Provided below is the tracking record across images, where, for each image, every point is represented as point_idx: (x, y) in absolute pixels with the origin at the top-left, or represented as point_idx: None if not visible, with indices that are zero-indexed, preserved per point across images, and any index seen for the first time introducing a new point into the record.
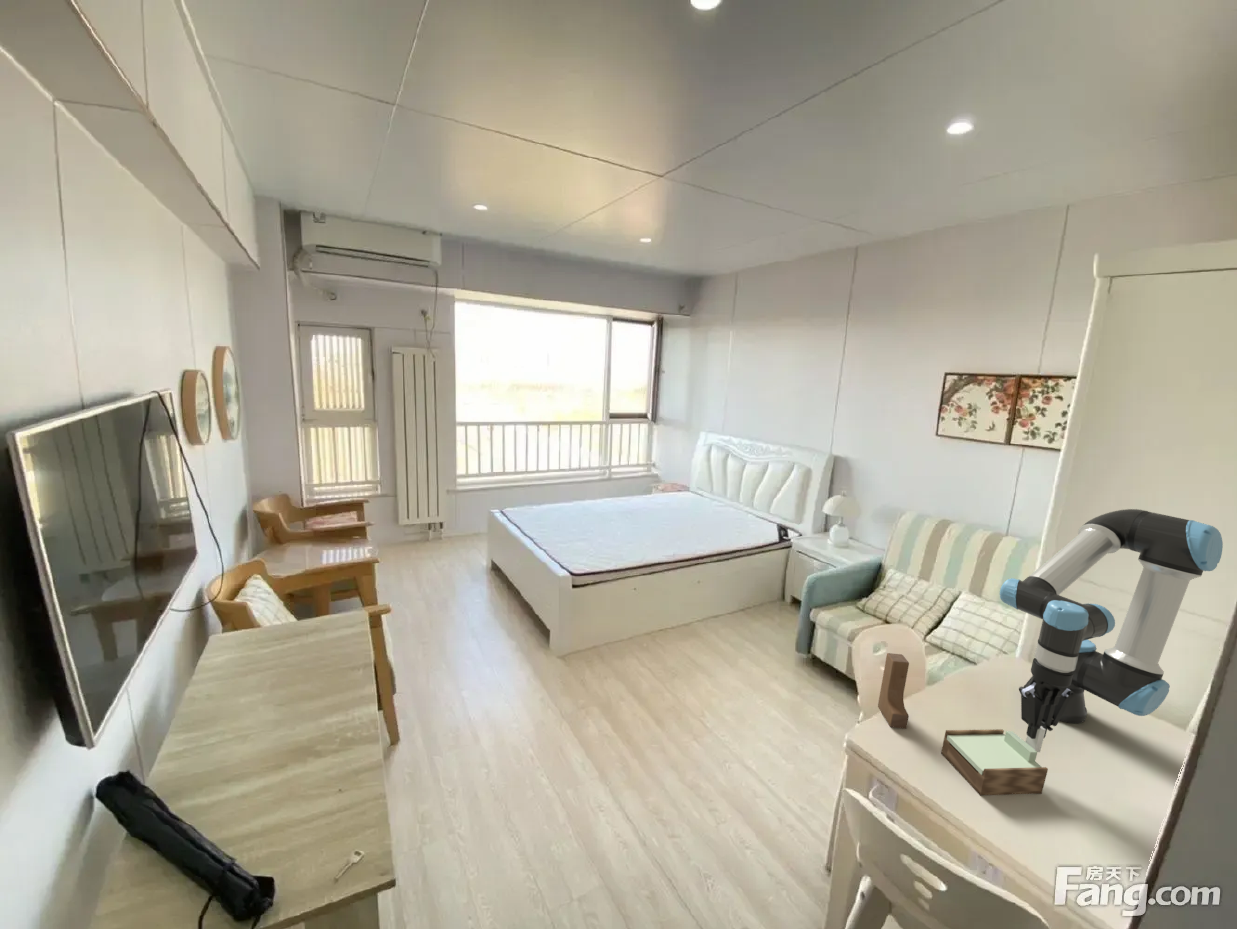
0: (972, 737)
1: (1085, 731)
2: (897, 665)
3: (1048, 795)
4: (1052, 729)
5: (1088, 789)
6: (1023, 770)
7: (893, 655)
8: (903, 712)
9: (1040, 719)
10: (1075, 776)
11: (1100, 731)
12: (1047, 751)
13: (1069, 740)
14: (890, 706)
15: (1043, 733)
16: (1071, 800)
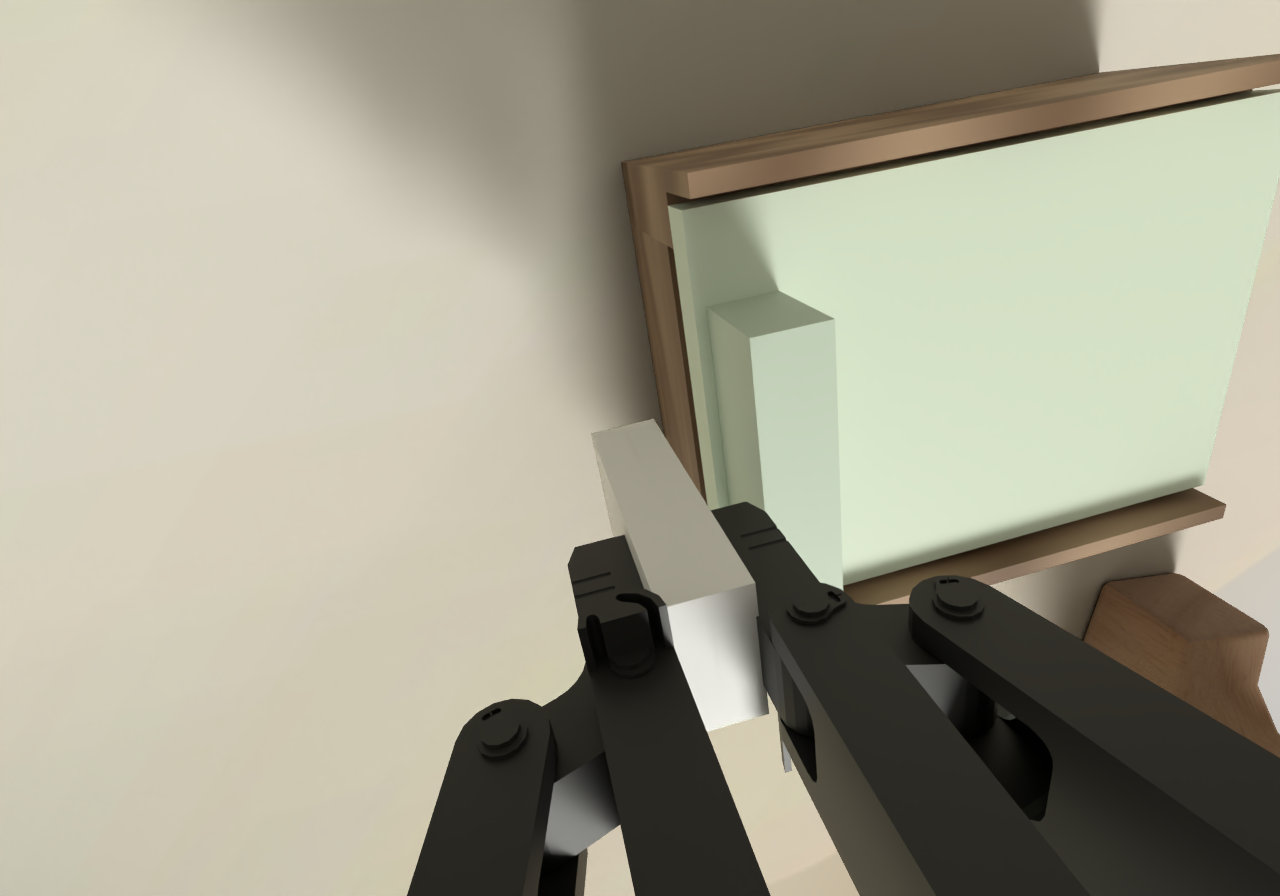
0: (1035, 507)
1: None
2: None
3: (573, 153)
4: (581, 620)
5: (153, 284)
6: (964, 118)
7: None
8: (1212, 658)
9: (884, 727)
10: (190, 417)
11: None
12: (278, 632)
13: (16, 791)
14: (1255, 684)
15: (666, 559)
16: (401, 121)
